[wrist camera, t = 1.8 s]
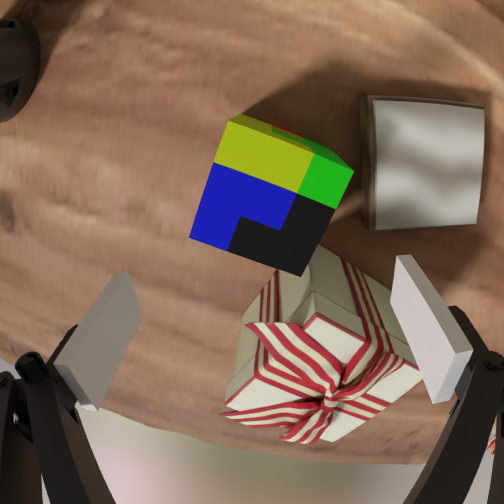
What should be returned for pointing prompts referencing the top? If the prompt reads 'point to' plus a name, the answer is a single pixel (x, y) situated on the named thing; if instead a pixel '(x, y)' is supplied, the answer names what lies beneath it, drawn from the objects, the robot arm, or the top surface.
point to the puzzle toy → (269, 195)
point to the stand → (420, 162)
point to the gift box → (319, 353)
